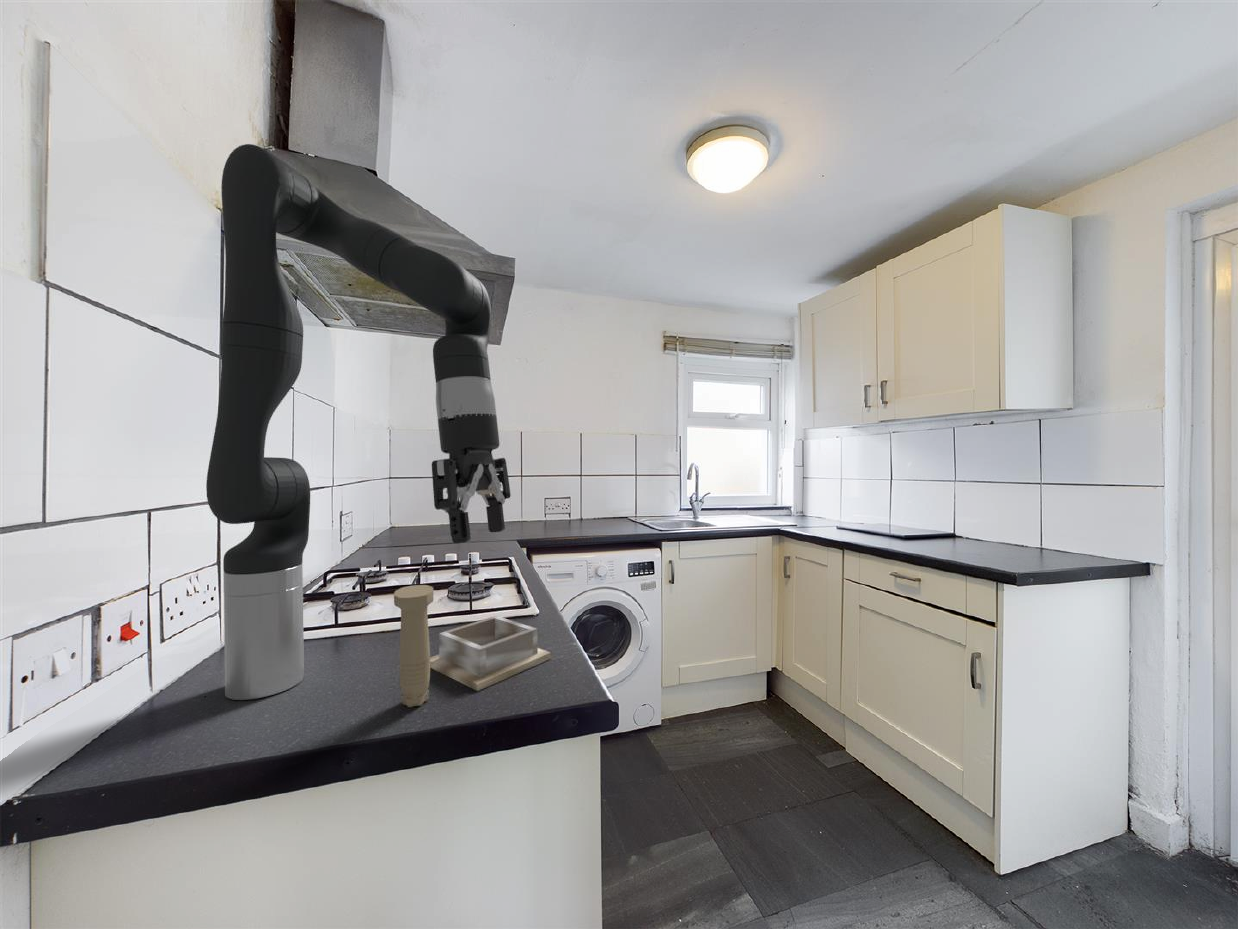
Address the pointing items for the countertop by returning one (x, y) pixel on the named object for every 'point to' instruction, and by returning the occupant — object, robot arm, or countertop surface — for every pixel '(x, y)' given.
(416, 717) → the countertop surface
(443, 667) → the small square bin
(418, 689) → the handle
